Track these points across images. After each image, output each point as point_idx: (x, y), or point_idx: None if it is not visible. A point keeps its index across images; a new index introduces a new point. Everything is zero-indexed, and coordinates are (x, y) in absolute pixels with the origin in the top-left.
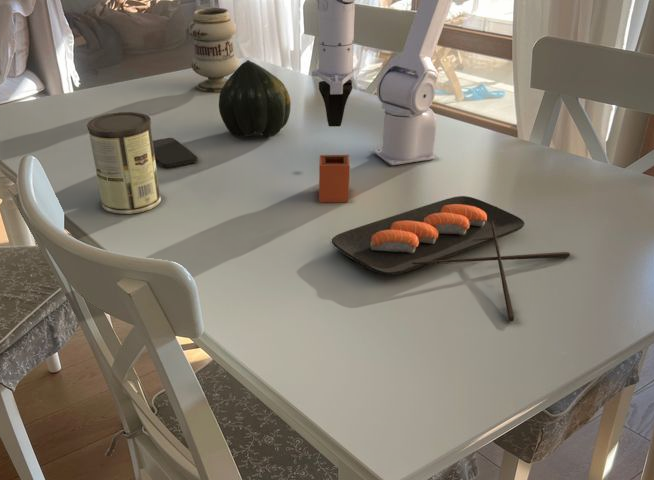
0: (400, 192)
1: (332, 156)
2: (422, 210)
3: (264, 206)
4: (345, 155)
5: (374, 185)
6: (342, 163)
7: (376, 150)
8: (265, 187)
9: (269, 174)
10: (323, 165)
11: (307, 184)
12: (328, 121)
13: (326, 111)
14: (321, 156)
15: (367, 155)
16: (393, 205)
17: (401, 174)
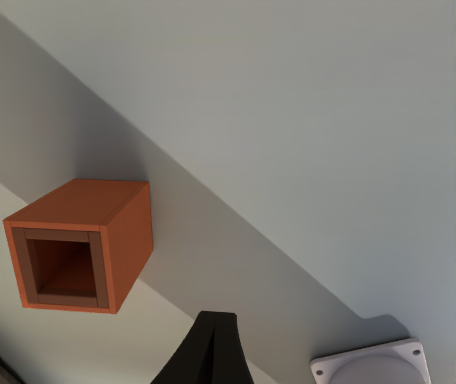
0: (150, 351)
1: (95, 266)
2: (3, 380)
3: (23, 19)
4: (110, 304)
5: (189, 309)
6: (35, 289)
7: (416, 347)
8: (169, 13)
9: (285, 22)
10: (6, 232)
11: (195, 151)
12: (193, 325)
13: (170, 360)
14: (92, 231)
15: (403, 319)
16: (79, 329)
17: (256, 369)
